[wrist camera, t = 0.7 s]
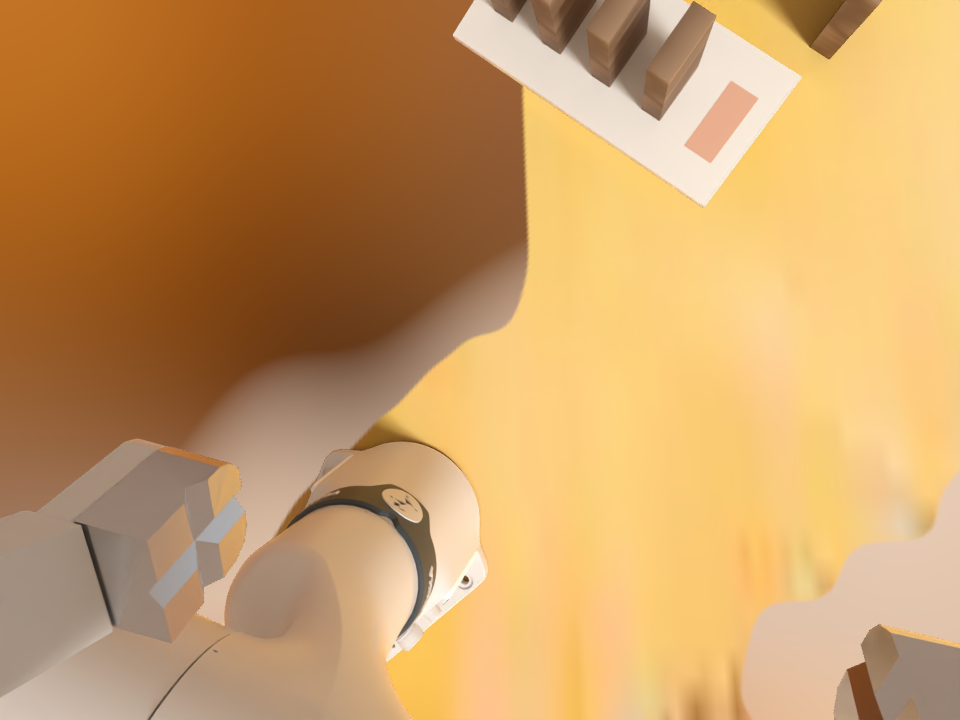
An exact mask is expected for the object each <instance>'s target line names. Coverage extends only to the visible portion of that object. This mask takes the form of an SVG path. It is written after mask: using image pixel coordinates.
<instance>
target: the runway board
mask: <svg viewBox="0 0 960 720" xmlns="http://www.w3.org/2000/svg"><path fill="white" fill-rule="evenodd" d="M604 1H605V0H597V1H596V2H595V4H594V5H593V7H592V8H591V10H590V11H589V13H588V14H587V16H586V17H585V19H584V20H583V22H582V23H581V25H580V26H579V28H578V29H577V31H576V32H575V34H574V35H573V37H572V38H571V40H570V41H569V43H568V44H567V46H566V47H565V49H564V50H563V52H562V53H561V55H560V54H558V53H557V52H555V51H554V50H552V49H551V48H549V47H548V46H546V45H545V44H543V42H542V38H541V35H540V31H539V28H538V24H537V21H536V18H535V14H534V11H533V7H532V4H531V1H530V0H527V1H526V2H525V4H524V6H523V7H522V9H521V10H520V12H519V13H518V15H517V16H516V18H515V20H514V21H513V23H512V22H510V21H509V20H507V19H506V18H504V17H503V16H501V15H500V14H498V13H497V12H495V9H494V7H493V5H492V2H491V0H474V1H473V3H472V5H471V6H470V8H469V9H468V11H467V13H466V14H465V16H464V17H463V19H462V21H461V22H460V24H459V26H458V27H457V29H456V31H455V32H454V34H453V37H454V38H455V40H457V41H458V42H460V43H461V44H463V45H464V46H466V47H467V48H469V49H470V50H472V51H473V52H474V53H476V54H477V55H479V56H480V57H482V58H483V59H485V60H486V61H488V62H489V63H491V64H492V65H494V66H495V67H496V68H498V69H500V70H501V71H502V72H504V73H505V74H507V75H508V76H510V77H511V78H513V79H514V80H516V81H517V82H518V83H520V84H521V85H523V86H524V87H526V88H527V89H529V90H530V91H532V92H533V93H535V94H536V95H538V96H539V97H540V98H542V99H543V100H545V101H546V102H548V103H549V104H551V105H552V106H554V107H555V108H557V109H558V110H560V111H561V112H563V113H564V114H565V115H567V116H568V117H570V118H571V119H573V120H574V121H576V122H577V123H579V124H580V125H582V126H583V127H585V128H586V129H587V130H589V131H590V132H592V133H593V134H595V135H596V136H598V137H599V138H601V139H602V140H604V141H605V142H607V143H608V144H609V145H611V146H612V147H614V148H615V149H617V150H618V151H620V152H621V153H623V154H624V155H626V156H627V157H629V158H630V159H631V160H633V161H634V162H636V163H637V164H639V165H640V166H642V167H643V168H645V169H646V170H648V171H649V172H651V173H652V174H653V175H655V176H656V177H658V178H659V179H661V180H662V181H664V182H665V183H667V184H668V185H670V186H671V187H673V188H674V189H676V190H677V191H678V192H680V193H681V194H683V195H684V196H686V197H687V198H689V199H690V200H692V201H693V202H695V203H696V204H698V205H699V206H700V207H702V208H704V207H705V206H706V204H707V203H708V202H709V200H710V199H711V198H712V196H713V195H714V194H715V192H716V191H717V190H718V188H719V187H720V186H721V184H722V183H723V182H724V180H725V179H726V178H727V176H728V175H729V174H730V172H731V171H732V170H733V168H734V167H735V166H736V164H737V163H738V162H739V160H740V159H741V158H742V156H743V155H744V154H745V152H746V151H747V150H748V148H749V147H750V146H751V144H752V143H753V142H754V140H755V139H756V138H757V136H758V135H759V134H760V132H761V131H762V130H763V128H764V127H765V126H766V124H767V123H768V122H769V120H770V119H771V118H772V116H773V115H774V114H775V112H776V111H777V110H778V108H779V107H780V106H781V104H782V103H783V102H784V100H785V99H786V98H787V96H788V95H789V94H790V92H791V91H792V90H793V88H794V87H795V86H796V84H797V83H798V82H799V80H800V79H801V78H802V77H801V76H800V75H798V74H797V73H795V72H793V71H792V70H790V69H789V68H787V67H786V66H784V65H783V64H781V63H779V62H778V61H776V60H775V59H773V58H772V57H770V56H769V55H767V54H765V53H764V52H762V51H761V50H759V49H758V48H756V47H755V46H753V45H751V44H750V43H748V42H747V41H745V40H744V39H742V38H741V37H739V36H737V35H736V34H734V33H733V32H731V31H730V30H728V29H727V28H725V27H723V26H722V25H720V24H719V23H717V22H716V21H714V24H713V27H712V29H711V32H710V35H709V38H708V41H707V44H706V46H705V49H704V52H703V55H702V58H701V60H700V63H699V66H698V68H697V69H696V71H695V72H694V74H693V75H692V76H691V78H690V79H689V81H688V82H687V83H686V85H685V86H684V88H683V89H682V90H681V92H680V93H679V95H678V96H677V97H676V99H675V100H674V102H673V103H672V104H671V106H670V107H669V109H668V110H667V111H666V113H665V114H664V116H663V117H662V118H661V120H660V121H658V120H657V119H655V118H654V117H652V116H651V115H649V114H648V113H646V112H645V111H643V110H642V109H641V108H642V100H643V93H644V85H645V77H646V70H647V67H648V66H649V64H650V63H651V61H652V60H653V58H654V57H655V56H656V54H657V53H658V51H659V50H660V48H661V47H662V46H663V44H664V43H665V41H666V40H667V38H668V37H669V35H670V34H671V33H672V31H673V30H674V28H675V27H676V25H677V24H678V23H679V21H680V20H681V18H682V17H683V15H684V14H685V13H686V11H687V10H688V8H689V7H690V5H689V4H688V3H686V2H685V1H683V0H651V1H650V10H649V19H648V27H647V34H646V36H645V37H644V38H643V40H642V41H641V43H640V44H639V46H638V47H637V49H636V50H635V51H634V53H633V54H632V56H631V57H630V59H629V60H628V62H627V63H626V65H625V66H624V67H623V69H622V70H621V72H620V73H619V75H618V76H617V78H616V79H615V81H614V82H613V83H612V85H611V86H610V88H609V87H607V86H606V85H604V84H603V83H601V82H600V81H598V80H597V79H595V78H594V77H593V76H592V74H591V66H590V57H589V48H588V40H587V31H586V28H587V26H588V25H589V23H590V22H591V20H592V19H593V17H594V16H595V14H596V13H597V11H598V10H599V8H600V7H601V5H602V4H603V2H604Z"/></svg>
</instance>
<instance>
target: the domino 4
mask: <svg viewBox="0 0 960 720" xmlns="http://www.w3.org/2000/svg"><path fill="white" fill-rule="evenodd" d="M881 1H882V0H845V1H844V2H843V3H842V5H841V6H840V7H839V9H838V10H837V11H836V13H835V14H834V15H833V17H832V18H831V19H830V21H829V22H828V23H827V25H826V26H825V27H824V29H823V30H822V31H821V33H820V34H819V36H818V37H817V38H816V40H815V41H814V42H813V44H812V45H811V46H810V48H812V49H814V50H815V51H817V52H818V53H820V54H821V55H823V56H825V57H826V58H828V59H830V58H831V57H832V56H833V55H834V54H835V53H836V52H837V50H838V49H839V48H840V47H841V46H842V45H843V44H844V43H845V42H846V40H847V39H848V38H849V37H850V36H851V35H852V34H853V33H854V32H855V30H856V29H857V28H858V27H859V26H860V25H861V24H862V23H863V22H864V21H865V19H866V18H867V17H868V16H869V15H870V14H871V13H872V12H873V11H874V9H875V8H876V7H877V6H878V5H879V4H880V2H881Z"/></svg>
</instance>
